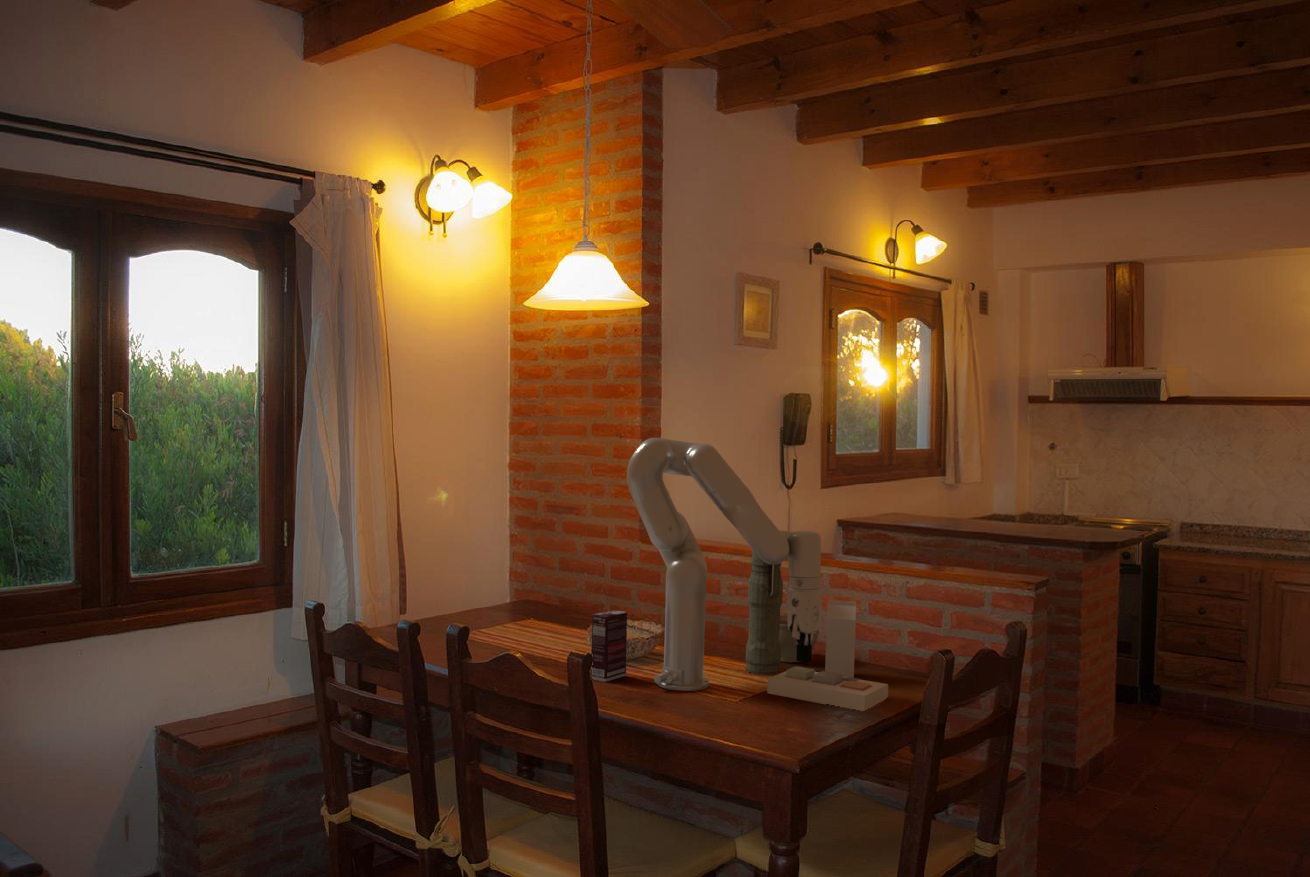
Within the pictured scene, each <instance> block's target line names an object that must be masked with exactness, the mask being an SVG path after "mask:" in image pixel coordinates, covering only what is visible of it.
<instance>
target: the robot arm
mask: <svg viewBox="0 0 1310 877" xmlns="http://www.w3.org/2000/svg"><path fill="white" fill-rule="evenodd" d="M664 474H670V475H677V476H684V477H692V478H693V479H694V481H695V482H696V483H697V484H698V485H699V487H700V488H701V489H702V490H703V491H704V492H705V494H706V495H707V496H708V498H709V499H710V500H711V501H712V502H713V504H714V505H715V506H716V508H717V509H718V510H719V511H720V512H721V513H722V515H723V516H724V517H725V519H726V520H727V521H729V522H730V523H731V525H733V527H734V528H735V529H736V530H737V531H738V533H739V534H740V535H741V536H742V538H743V539H744V541H745V542H747V543H748V545H749V546H750V547H751V550H752V549H753V550H754V551H755V552H756V553H757V555H758V556H759V557H760V558H761V559H762V560H763V561H764V562H766V563H768V564H772V565H776V564H780V563H781V564H782V563H784V562H785V561H786V560H788V590H789V595H788V596H789V597H788V604H787V606H788V609H787V615H788V630H789V631H790V632H792V639H795V640H796V644H797V661H801V662H800V663H802V662H803V663H809V662H812V660H813V657H812V655H813V649H812V643H813V635H814V634H815V633H816V631H818V630H819V631H820V630H821V629H823V626H824V625H823V624H824V619H823V601H822V600H823V599H822V593H821V589H822V588H821V585H822V584H821V577H822V576H821V570H822V569H821V567H822V566H821V561H822V558H821V555H822V554H821V553H822V552H821V550H822V549H821V548H822V546H821V545H822V544H821V542H822V541H821V539H822V538H821V535H820V534H819V532H817V531H812V530H811V531H809V530H796V531H787V530H780V529H779V528H778V527H777V526H776V525H775V524H774V522H773V521H772V520H771V519H770V518H769V516H768V515H767V514H766V512H765V511H764V510H763V508H762V507H761V506H760V505H759V503H758V502H757V500H756V498H755V496H754V494H753V493H752V492H751V490H750V489H749V487H748V486H747V485H746V484H745V483H744V482H743V481H742V479H741V478H740V477H739V476H738V475H737V473H736V472H735V471H734V470H733V469H732V466H730V464H728V462H727V461H726V460H725V458H723V456H722V455H721V454H720V453H719V451H718V449H716V448H715V447H714V446H712V445H710V444H707V443H698V442H697V443H695V442H688V441H682V440H675V439H674V440H673V439H669V438H662V437H650V438H647V439H646V440H644V441H642V442H641V443H640V445H638V447H637V448H636V449H635V450H634V452H633V453H632V456H631V457H630V459H629V461H628V466H627V469H626V483H627V486H628V487H627V488H628V490H629V493H630V496H631V497H632V500H633V503H634V505H635V507H636V509H637V513H638V514H639V517H640V519H641V520H642V523H643V526H644V527H645V530H646V532H647V534H648V537H649V540H650V543H652V545H653V546H654V547H655V548H656V549H658V552H659V554H660V556H661V558H662V560H663V563H664V564H665V566H666V572H665V607H664V608H665V609H664V613H665V614H664V648H663V649H664V650H663V666H662V669H661V670H662V672H661V673H658V674H656V675H654V677H653V681H654V683H656V685H657V686H658V687H660V688H663V689H667V690H669V691H670V690H671V691H678V692H694V691H695V692H696V691H701V690H705V689H708V688H709V687H710V680H709V679H708V678H706V677H704V663H705V662H704V661H705V660H704V657H705V656H704V655H705V630H706V629H705V628H706V596H707V594H706V593H707V591H706V590H707V580H708V579H707V578H708V577H707V576H708V565H707V561H706V558H705V556H704V554H703V552H702V549H701V547H700V546H699V544H698V542H697V539H696V537H695V535H694V533H693V531H692V528H691V527H690V525H689V523H688V521H687V519H686V518H685V516H684V514H682V513H680V512H679V511H678V509H677V508H676V506H675V504H674V502H673V499H672V497H671V495H670V492H669V490H668V489H667V487H666V484H665V482H664V478H663V477H664ZM799 630H800V631H799Z"/></svg>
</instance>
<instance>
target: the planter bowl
mask: <svg viewBox="0 0 1310 877" xmlns="http://www.w3.org/2000/svg"><path fill="white" fill-rule="evenodd" d="M799 631H800V630H799ZM819 633H820V630H818V631H816V633H815V634H814V635H813V643H812V650H813V649H814V648H815V645H816V643H817V640H818V637H819ZM779 641H780V644H781V662H785V663H794V662H796V663H802V662H801V661H797V644H796V640H795V639H792V632H790V631H789V630H788V614H780V630H779Z"/></svg>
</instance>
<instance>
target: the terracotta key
mask: <svg viewBox="0 0 1310 877" xmlns="http://www.w3.org/2000/svg"><path fill="white" fill-rule="evenodd" d="M841 687H844V688H849V689H855V690H861V691H864V690H866V689H868V688H870V687H871V684H867V683H861V682H855V681H848V682H846V683H844V684H842V685H841Z"/></svg>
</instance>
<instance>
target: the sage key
mask: <svg viewBox="0 0 1310 877" xmlns="http://www.w3.org/2000/svg"><path fill="white" fill-rule="evenodd" d="M785 672H786V677H788V678H794V679H799V680H805V681H807V680H810V679H812V678H813V676H814V674H815V672H816V669H813V668H809V667H808V668H807V667H802V666H796V665H795V666H793V667H790V668H787V669H786V670H785Z"/></svg>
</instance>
